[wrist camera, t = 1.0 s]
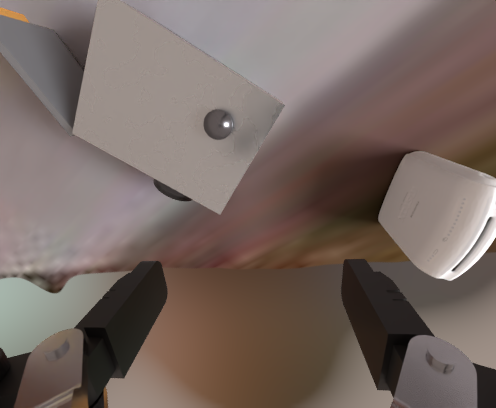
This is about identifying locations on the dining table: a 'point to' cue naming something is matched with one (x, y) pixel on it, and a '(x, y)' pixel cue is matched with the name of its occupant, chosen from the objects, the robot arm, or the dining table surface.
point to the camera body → (169, 107)
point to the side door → (42, 65)
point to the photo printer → (440, 213)
